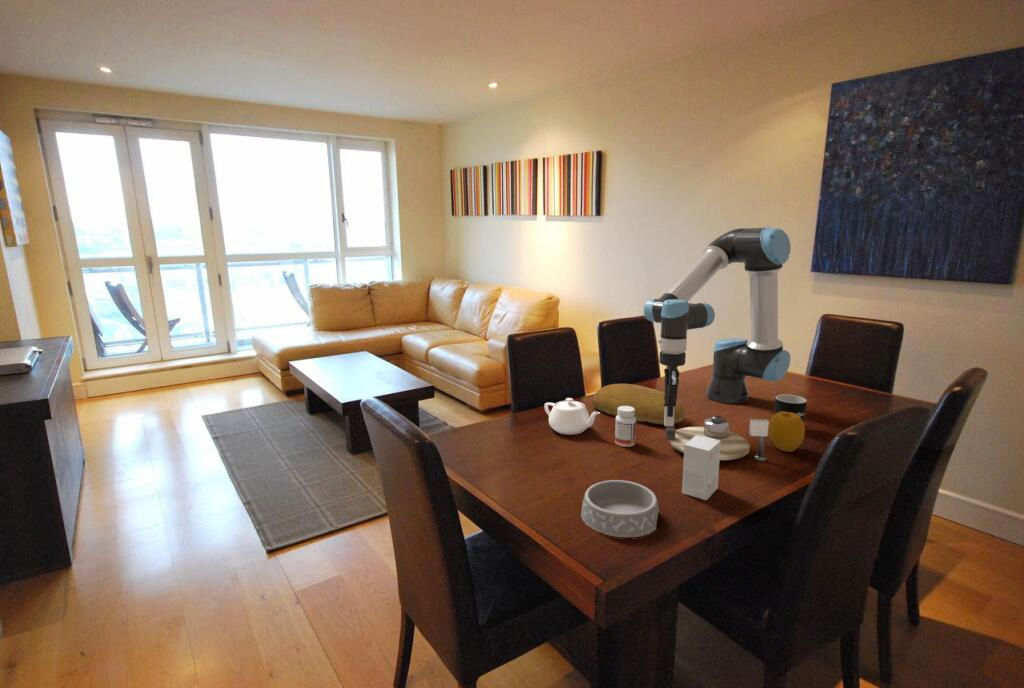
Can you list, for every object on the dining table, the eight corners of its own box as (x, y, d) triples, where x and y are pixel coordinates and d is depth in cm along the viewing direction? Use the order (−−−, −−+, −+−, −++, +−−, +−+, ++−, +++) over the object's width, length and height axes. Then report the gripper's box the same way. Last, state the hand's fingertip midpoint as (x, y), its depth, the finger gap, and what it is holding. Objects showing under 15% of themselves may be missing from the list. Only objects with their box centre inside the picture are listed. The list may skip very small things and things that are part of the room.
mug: (794, 435, 163) (797, 405, 161) (767, 427, 170) (769, 398, 168) (813, 427, 169) (817, 397, 167) (786, 419, 177) (789, 391, 175)
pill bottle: (626, 438, 163) (627, 403, 161) (639, 445, 158) (640, 409, 156) (610, 441, 161) (611, 407, 158) (623, 448, 155) (624, 413, 153)
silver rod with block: (746, 456, 148) (749, 418, 146) (763, 457, 148) (767, 418, 145) (749, 461, 146) (752, 421, 143) (767, 462, 145) (770, 422, 142)
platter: (661, 428, 166) (662, 416, 165) (738, 432, 162) (739, 419, 161) (670, 457, 145) (671, 443, 144) (759, 462, 141) (760, 447, 140)
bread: (672, 432, 168) (673, 403, 165) (582, 410, 191) (582, 383, 189) (695, 417, 181) (697, 390, 179) (609, 397, 204) (609, 373, 202)
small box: (693, 481, 135) (696, 434, 132) (718, 488, 131) (721, 440, 128) (680, 493, 129) (683, 444, 126) (706, 501, 125) (709, 450, 122)
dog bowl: (573, 531, 114) (574, 509, 113) (591, 492, 130) (591, 472, 129) (654, 546, 108) (655, 523, 107) (661, 503, 124) (662, 483, 123)
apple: (758, 446, 155) (761, 409, 153) (781, 441, 159) (785, 404, 157) (786, 459, 147) (790, 419, 144) (810, 452, 150) (815, 414, 148)
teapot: (532, 428, 173) (531, 397, 171) (556, 417, 183) (556, 388, 181) (587, 445, 159) (588, 411, 156) (611, 432, 169) (611, 400, 166)
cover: (701, 429, 161) (702, 413, 160) (725, 430, 160) (726, 413, 159) (705, 438, 154) (707, 421, 153) (730, 439, 153) (732, 422, 152)
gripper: (657, 346, 163) (654, 417, 168) (662, 355, 150) (658, 432, 155) (682, 346, 162) (678, 418, 167) (689, 356, 149) (684, 433, 154)
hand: (668, 425), depth 161 cm, fingers closed
